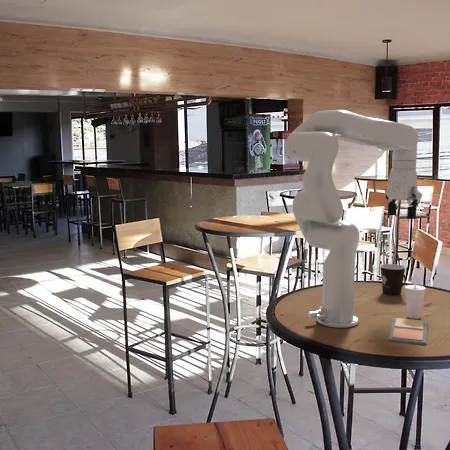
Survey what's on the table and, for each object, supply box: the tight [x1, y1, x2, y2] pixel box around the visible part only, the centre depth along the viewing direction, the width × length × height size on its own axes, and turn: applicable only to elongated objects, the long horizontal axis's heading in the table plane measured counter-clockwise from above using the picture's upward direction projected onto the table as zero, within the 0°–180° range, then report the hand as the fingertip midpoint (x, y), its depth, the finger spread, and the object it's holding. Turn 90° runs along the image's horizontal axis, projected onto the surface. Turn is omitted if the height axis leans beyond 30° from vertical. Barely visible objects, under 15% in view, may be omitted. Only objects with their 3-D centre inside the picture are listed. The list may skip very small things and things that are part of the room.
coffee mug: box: [380, 263, 407, 297], centre depth 208 cm, size 12×9×10 cm
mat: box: [388, 317, 428, 346], centre depth 169 cm, size 20×10×1 cm, turn 160°
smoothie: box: [404, 273, 427, 320], centre depth 182 cm, size 6×6×14 cm
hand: (401, 216), depth 194 cm, fingers open, 9 cm apart
